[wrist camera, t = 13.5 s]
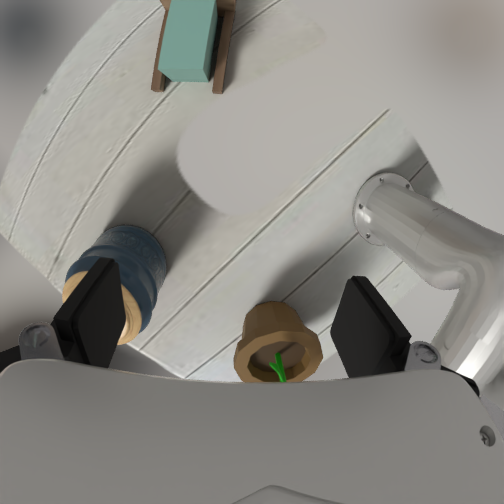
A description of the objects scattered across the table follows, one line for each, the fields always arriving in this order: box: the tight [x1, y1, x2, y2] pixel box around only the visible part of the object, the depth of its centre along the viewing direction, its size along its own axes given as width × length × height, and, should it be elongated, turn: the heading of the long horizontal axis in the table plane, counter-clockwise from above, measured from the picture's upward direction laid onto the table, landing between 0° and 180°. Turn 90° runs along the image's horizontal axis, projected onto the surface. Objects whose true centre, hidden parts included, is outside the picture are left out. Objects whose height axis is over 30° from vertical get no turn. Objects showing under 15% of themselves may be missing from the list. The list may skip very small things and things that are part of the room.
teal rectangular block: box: [158, 0, 218, 82], centre depth 26 cm, size 5×10×9 cm, turn 173°
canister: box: [62, 225, 166, 345], centre depth 34 cm, size 13×13×18 cm
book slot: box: [151, 0, 236, 94], centre depth 26 cm, size 9×14×8 cm
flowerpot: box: [234, 301, 323, 382], centre depth 37 cm, size 14×14×30 cm
